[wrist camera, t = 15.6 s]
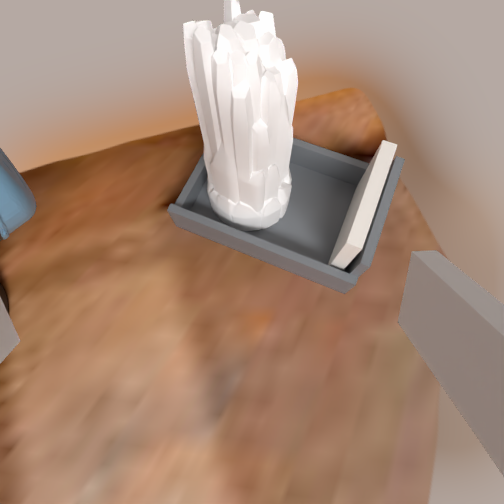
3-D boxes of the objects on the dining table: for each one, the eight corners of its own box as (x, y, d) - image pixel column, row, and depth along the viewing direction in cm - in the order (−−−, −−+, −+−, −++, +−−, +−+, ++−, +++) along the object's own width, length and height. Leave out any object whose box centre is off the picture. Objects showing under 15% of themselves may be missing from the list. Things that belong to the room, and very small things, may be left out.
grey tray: (176, 225, 44) (157, 193, 36) (225, 136, 49) (219, 90, 41) (344, 293, 41) (367, 275, 33) (379, 190, 46) (407, 152, 37)
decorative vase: (276, 155, 47) (296, -57, 23) (299, 220, 44) (350, 48, 20) (202, 173, 46) (147, -29, 22) (220, 240, 43) (176, 86, 19)
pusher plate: (325, 271, 41) (346, 242, 31) (356, 187, 45) (383, 140, 35) (342, 277, 41) (368, 251, 31) (371, 193, 44) (402, 146, 35)
